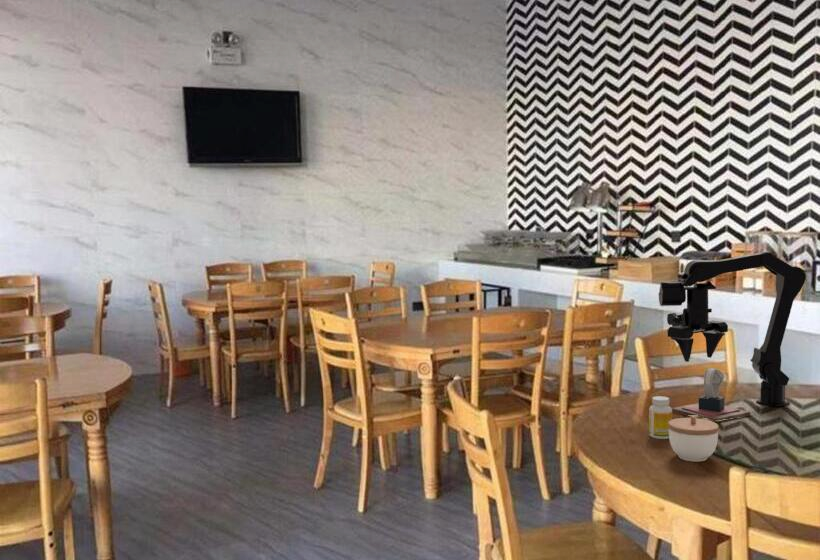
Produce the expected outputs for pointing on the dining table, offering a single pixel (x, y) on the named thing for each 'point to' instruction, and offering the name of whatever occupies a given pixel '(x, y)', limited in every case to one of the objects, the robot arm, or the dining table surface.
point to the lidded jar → (693, 438)
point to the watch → (712, 391)
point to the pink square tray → (711, 412)
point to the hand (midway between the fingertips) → (698, 359)
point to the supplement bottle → (659, 417)
